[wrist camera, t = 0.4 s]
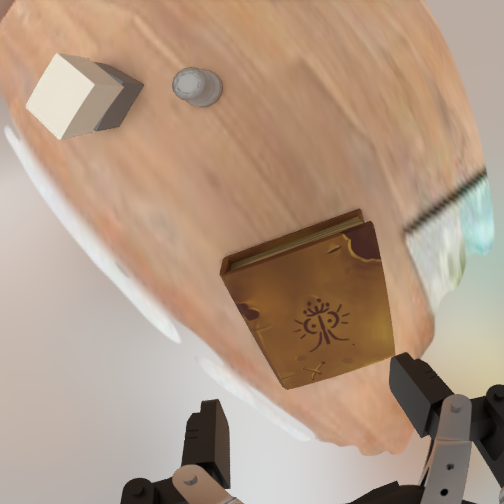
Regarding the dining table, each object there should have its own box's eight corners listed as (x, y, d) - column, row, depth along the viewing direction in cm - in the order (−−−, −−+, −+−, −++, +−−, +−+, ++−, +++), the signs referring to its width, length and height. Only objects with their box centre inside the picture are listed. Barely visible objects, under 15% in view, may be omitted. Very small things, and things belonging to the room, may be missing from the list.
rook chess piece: (194, 65, 29) (175, 53, 22) (229, 79, 30) (220, 69, 22) (177, 99, 31) (155, 97, 23) (212, 113, 31) (199, 113, 24)
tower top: (59, 103, 25) (25, 106, 19) (88, 58, 23) (56, 52, 17) (91, 132, 27) (59, 140, 21) (124, 86, 25) (95, 84, 19)
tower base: (86, 105, 30) (59, 108, 25) (108, 64, 28) (84, 60, 23) (119, 126, 32) (96, 131, 27) (144, 84, 30) (123, 81, 24)
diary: (223, 255, 40) (218, 278, 35) (358, 207, 37) (373, 223, 32) (281, 366, 49) (282, 392, 44) (385, 332, 46) (395, 356, 41)
